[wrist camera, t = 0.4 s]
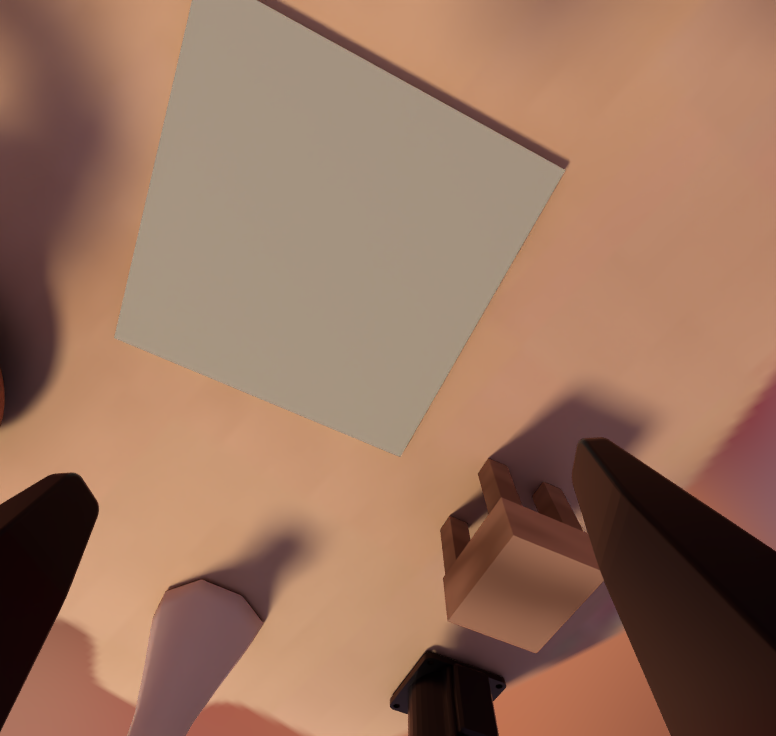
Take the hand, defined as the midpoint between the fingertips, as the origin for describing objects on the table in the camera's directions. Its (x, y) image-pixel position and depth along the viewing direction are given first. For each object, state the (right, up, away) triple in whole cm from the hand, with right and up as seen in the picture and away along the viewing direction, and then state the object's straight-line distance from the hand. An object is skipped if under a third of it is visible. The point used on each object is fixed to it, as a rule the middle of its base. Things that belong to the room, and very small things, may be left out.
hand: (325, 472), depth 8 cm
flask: (-11, -15, +22) cm, 29 cm away
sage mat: (-2, +7, +13) cm, 14 cm away
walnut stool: (+8, -7, +18) cm, 21 cm away
